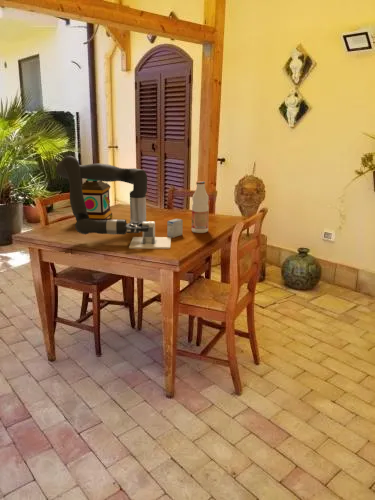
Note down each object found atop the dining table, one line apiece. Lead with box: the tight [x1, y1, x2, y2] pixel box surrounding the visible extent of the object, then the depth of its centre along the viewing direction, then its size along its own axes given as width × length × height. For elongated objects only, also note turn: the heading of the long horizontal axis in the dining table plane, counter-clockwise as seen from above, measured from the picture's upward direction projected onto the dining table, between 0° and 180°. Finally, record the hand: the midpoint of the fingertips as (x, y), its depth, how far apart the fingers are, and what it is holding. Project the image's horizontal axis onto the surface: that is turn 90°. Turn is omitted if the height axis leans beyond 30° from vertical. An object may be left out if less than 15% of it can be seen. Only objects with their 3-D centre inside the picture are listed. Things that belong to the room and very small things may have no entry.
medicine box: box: [166, 218, 184, 239], centre depth 222 cm, size 8×4×9 cm, turn 141°
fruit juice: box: [191, 180, 210, 234], centre depth 229 cm, size 9×9×28 cm
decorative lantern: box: [81, 179, 113, 220], centre depth 250 cm, size 20×20×30 cm
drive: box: [142, 220, 156, 243], centre depth 207 cm, size 4×6×10 cm
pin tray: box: [128, 236, 172, 250], centre depth 208 cm, size 18×20×3 cm
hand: (148, 227), depth 206 cm, fingers open, 8 cm apart
